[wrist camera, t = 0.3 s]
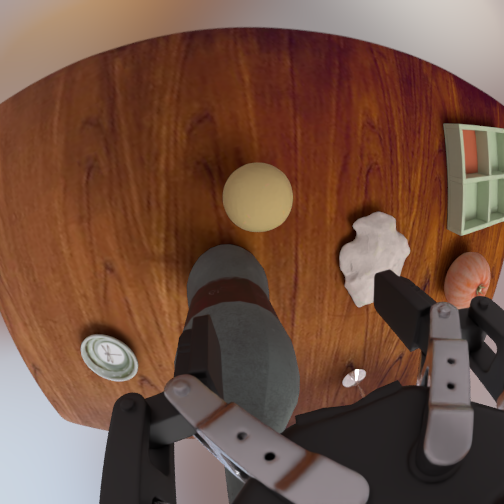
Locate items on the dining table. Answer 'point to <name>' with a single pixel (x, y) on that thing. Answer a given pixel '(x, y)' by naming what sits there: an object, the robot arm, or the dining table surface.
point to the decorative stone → (372, 255)
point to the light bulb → (257, 197)
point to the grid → (474, 177)
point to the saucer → (109, 357)
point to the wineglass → (355, 380)
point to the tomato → (466, 279)
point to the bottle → (245, 338)
